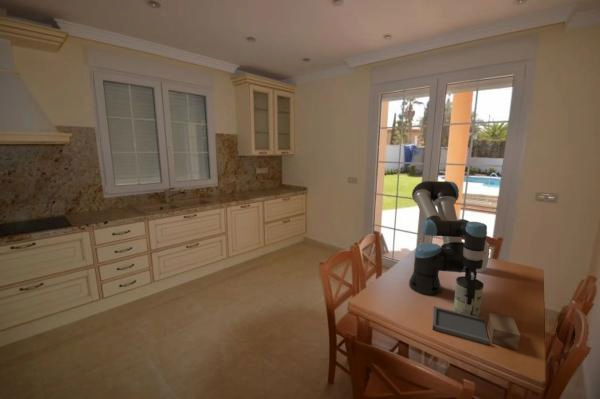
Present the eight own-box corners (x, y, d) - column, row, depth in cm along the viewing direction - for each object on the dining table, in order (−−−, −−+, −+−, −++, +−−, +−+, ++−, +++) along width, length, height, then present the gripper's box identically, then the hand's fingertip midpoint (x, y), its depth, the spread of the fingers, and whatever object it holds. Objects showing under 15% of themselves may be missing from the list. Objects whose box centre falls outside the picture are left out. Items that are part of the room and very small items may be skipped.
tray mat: (432, 329, 109) (432, 325, 108) (433, 309, 122) (434, 306, 121) (488, 345, 100) (489, 341, 100) (483, 322, 113) (484, 318, 113)
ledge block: (491, 342, 101) (493, 328, 100) (487, 325, 111) (489, 312, 110) (517, 350, 97) (520, 335, 96) (511, 331, 107) (513, 318, 106)
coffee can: (456, 301, 128) (459, 273, 126) (481, 309, 122) (485, 281, 119) (450, 310, 121) (453, 282, 118) (477, 320, 114) (481, 290, 111)
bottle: (462, 269, 161) (467, 228, 156) (468, 263, 169) (473, 224, 164) (484, 275, 153) (489, 233, 148) (489, 269, 160) (494, 228, 155)
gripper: (486, 269, 105) (479, 320, 109) (480, 250, 124) (474, 293, 129) (464, 266, 108) (458, 315, 113) (461, 247, 128) (456, 289, 132)
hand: (466, 303), depth 121 cm, fingers closed on coffee can, 10 cm apart
